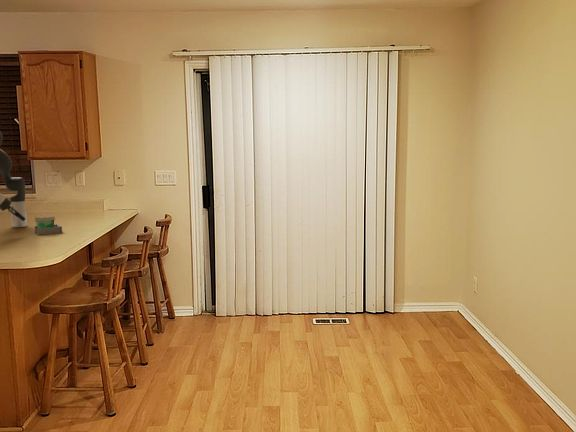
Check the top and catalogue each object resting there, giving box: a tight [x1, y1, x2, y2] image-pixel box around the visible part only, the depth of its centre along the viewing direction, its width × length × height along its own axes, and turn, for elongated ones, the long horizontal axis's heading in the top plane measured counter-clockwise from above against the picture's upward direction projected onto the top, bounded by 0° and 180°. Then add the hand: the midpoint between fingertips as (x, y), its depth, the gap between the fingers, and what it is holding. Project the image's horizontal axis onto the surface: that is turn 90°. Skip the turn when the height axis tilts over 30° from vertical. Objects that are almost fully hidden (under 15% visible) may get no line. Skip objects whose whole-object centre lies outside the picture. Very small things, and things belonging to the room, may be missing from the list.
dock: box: [34, 223, 63, 236], centre depth 376 cm, size 12×14×4 cm
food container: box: [34, 216, 56, 228], centre depth 374 cm, size 12×6×10 cm, turn 98°
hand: (24, 219), depth 369 cm, fingers closed
